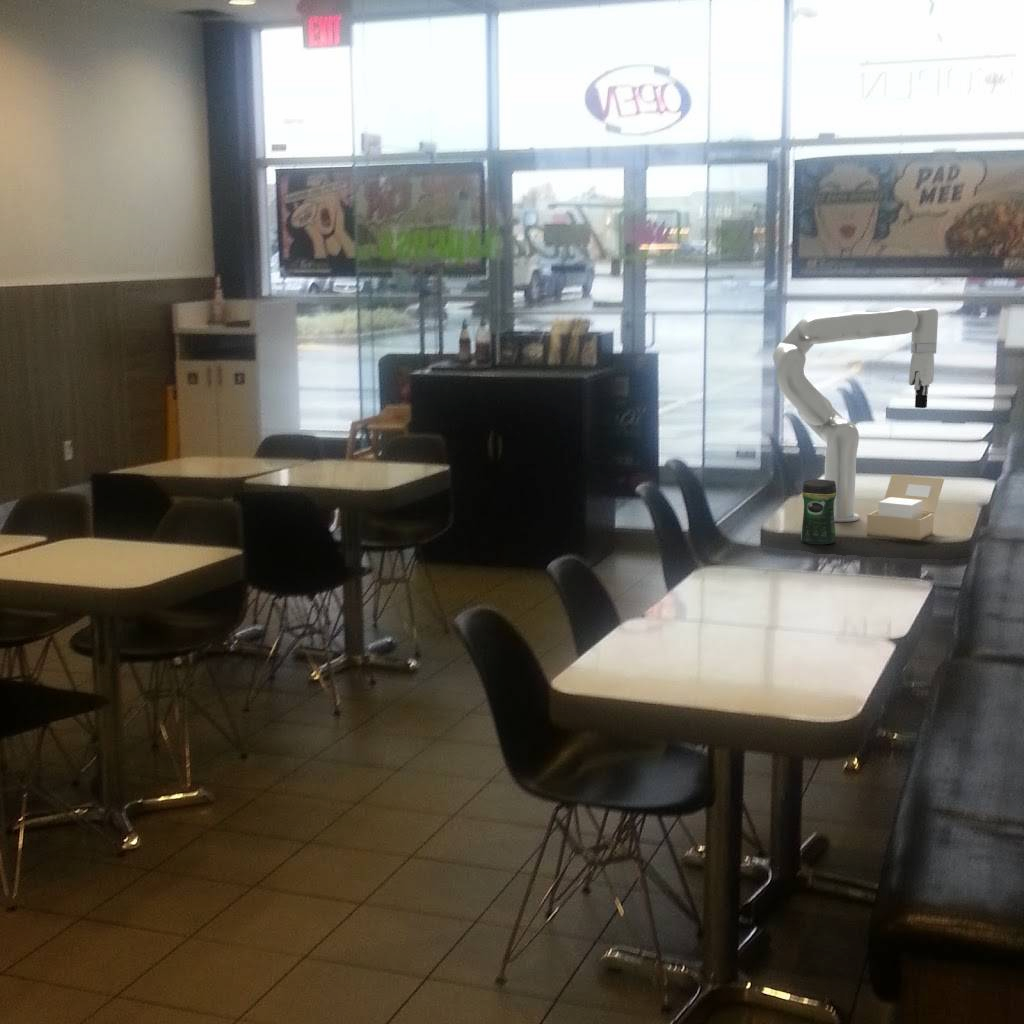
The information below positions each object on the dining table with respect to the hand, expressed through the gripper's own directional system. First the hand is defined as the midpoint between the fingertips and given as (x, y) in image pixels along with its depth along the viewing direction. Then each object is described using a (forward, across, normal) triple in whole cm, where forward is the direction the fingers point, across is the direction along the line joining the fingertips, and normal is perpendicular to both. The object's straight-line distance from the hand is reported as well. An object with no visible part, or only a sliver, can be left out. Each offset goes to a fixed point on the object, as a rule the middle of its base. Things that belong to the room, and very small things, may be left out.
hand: (920, 407), depth 416 cm
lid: (+24, +16, +4) cm, 29 cm away
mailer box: (+35, +26, +4) cm, 44 cm away
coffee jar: (+35, +50, -12) cm, 62 cm away
